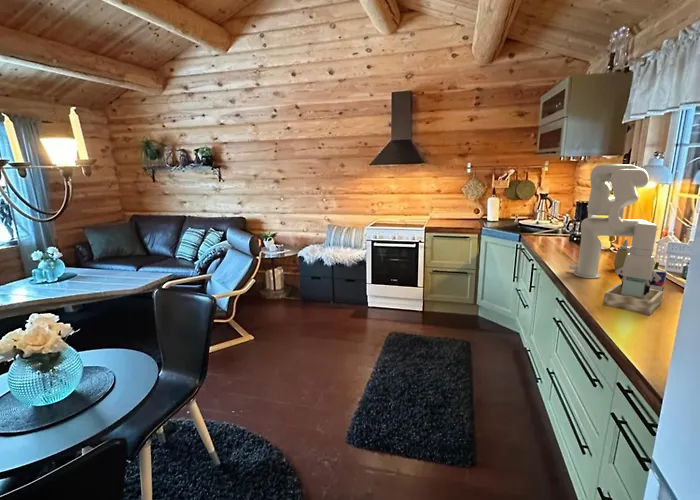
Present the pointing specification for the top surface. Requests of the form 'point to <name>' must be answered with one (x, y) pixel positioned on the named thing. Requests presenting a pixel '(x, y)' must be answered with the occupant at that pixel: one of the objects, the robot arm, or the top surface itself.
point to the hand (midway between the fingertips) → (634, 291)
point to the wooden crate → (633, 300)
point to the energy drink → (660, 283)
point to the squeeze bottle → (621, 255)
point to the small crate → (633, 287)
